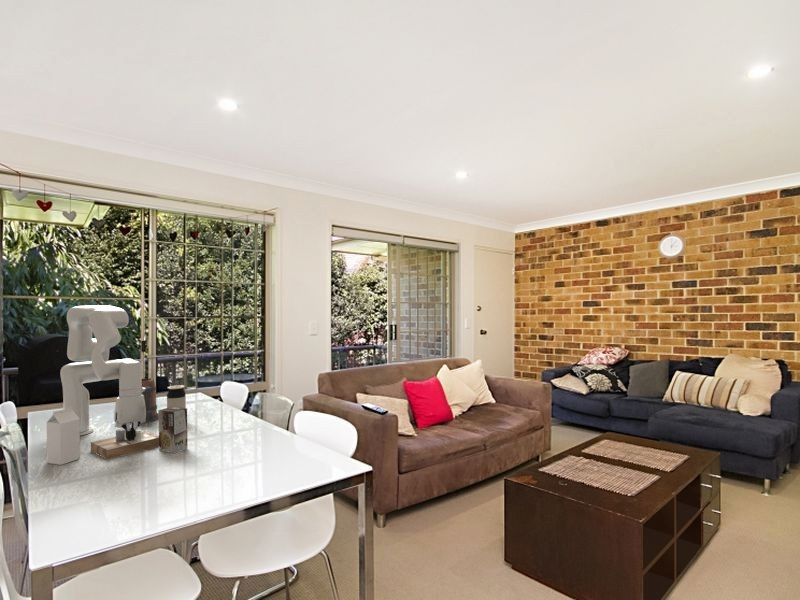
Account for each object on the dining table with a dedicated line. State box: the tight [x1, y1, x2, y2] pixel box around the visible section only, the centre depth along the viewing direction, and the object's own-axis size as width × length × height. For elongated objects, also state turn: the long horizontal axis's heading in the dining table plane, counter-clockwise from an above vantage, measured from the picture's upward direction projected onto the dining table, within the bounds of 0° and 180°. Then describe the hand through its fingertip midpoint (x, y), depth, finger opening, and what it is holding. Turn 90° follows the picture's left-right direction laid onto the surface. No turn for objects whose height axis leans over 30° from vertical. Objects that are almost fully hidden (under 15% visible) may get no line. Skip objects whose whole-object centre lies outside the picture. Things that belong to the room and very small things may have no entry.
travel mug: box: [166, 384, 187, 408], centre depth 220 cm, size 8×8×18 cm
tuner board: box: [90, 430, 159, 460], centre depth 184 cm, size 16×20×4 cm
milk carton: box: [46, 408, 81, 466], centre depth 169 cm, size 7×7×19 cm
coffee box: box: [157, 407, 189, 454], centre depth 181 cm, size 9×6×16 cm
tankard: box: [130, 377, 159, 425], centre depth 227 cm, size 24×17×20 cm
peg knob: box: [115, 428, 145, 442], centre depth 182 cm, size 10×4×4 cm, turn 86°
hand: (130, 439), depth 179 cm, fingers closed
